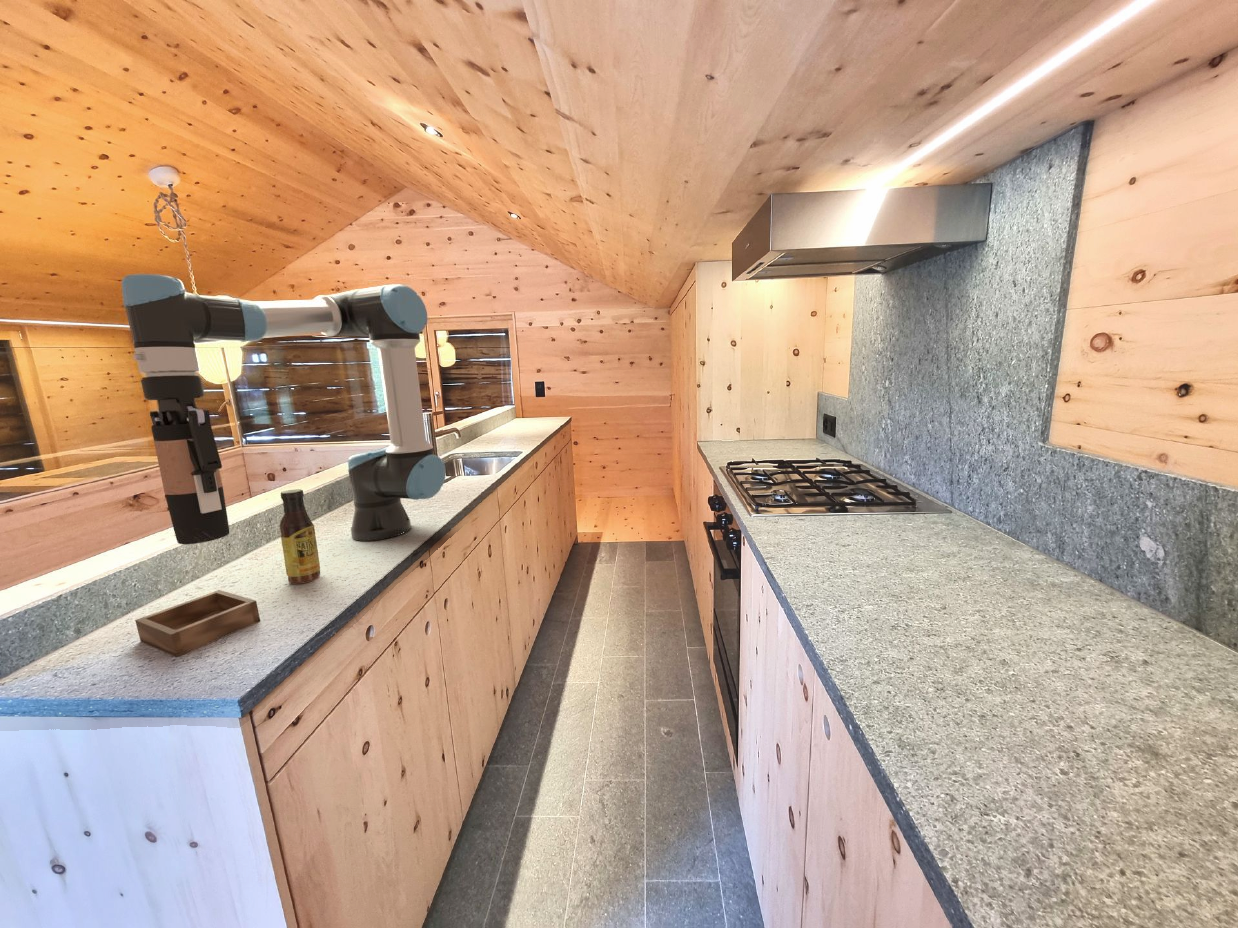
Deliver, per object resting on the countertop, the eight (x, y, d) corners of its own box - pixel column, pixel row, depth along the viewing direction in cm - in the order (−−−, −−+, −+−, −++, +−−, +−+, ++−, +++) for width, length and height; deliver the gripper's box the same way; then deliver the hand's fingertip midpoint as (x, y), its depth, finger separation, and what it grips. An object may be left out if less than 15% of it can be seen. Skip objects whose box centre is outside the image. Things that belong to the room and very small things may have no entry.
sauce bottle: (305, 586, 106) (289, 495, 102) (281, 584, 107) (264, 495, 103) (329, 573, 112) (314, 487, 108) (305, 572, 113) (290, 487, 109)
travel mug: (175, 538, 87) (151, 424, 84) (230, 528, 92) (209, 420, 89) (174, 548, 82) (148, 427, 78) (233, 537, 86) (211, 422, 83)
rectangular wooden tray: (223, 609, 97) (219, 589, 96) (260, 620, 91) (256, 600, 90) (140, 641, 86) (135, 620, 85) (176, 657, 80) (171, 634, 79)
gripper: (112, 377, 83) (142, 510, 87) (175, 373, 74) (204, 520, 78) (167, 376, 90) (193, 499, 94) (231, 372, 81) (256, 508, 85)
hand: (198, 508), depth 86 cm, fingers closed on travel mug, 8 cm apart
